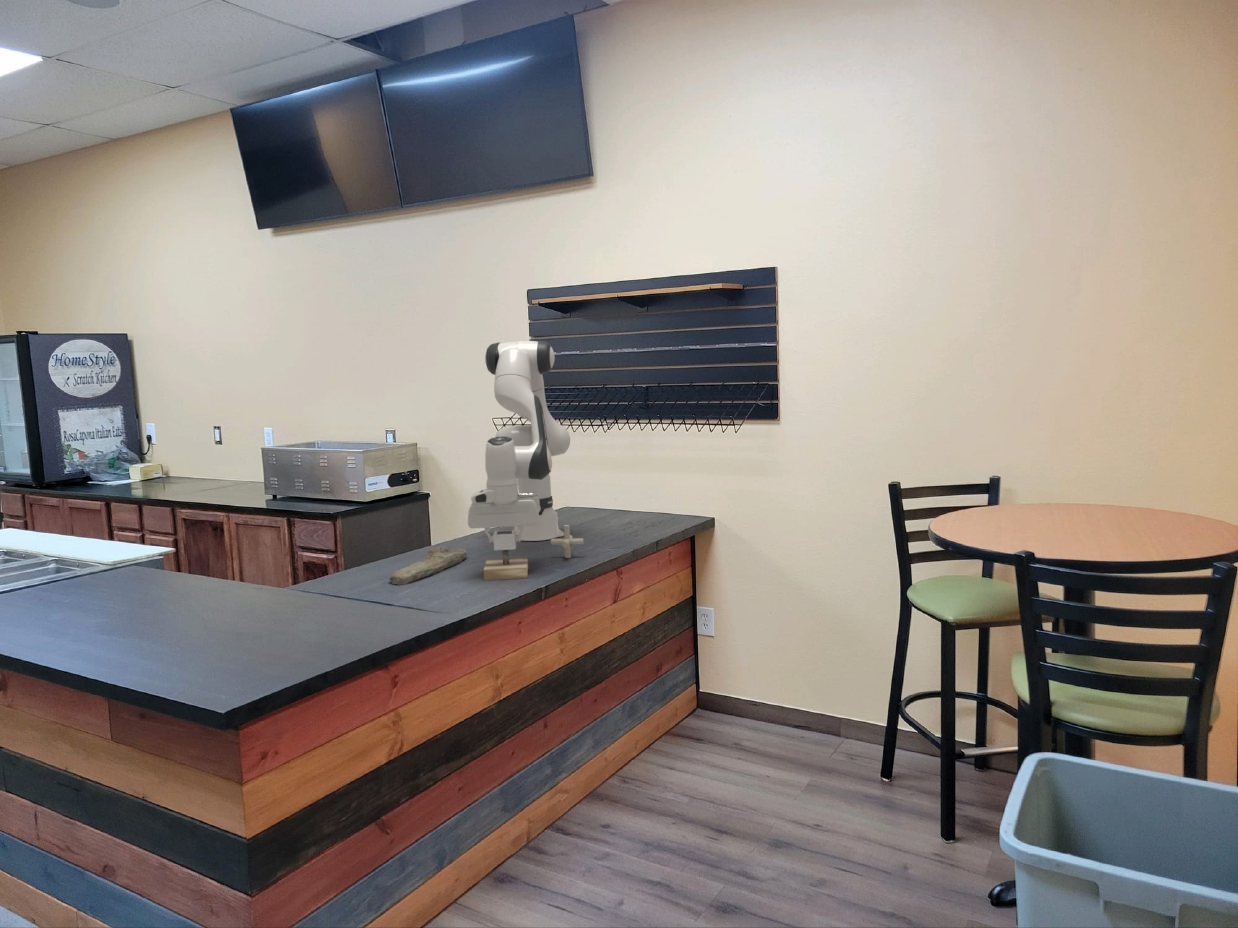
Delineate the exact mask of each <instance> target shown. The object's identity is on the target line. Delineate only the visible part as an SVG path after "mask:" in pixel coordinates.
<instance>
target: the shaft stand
mask: <svg viewBox="0 0 1238 928" xmlns="http://www.w3.org/2000/svg"><path fill="white" fill-rule="evenodd" d="M501 552H502V558H501V559H499V558H497V559H486V561H485V564H484V567H483V580H484V581H497V580H499V579H500V580H512V579H513V580H516V579H528V573H529V561H528V557H520V558H510V554H509V552H510V551H509V550H501Z"/></svg>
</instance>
